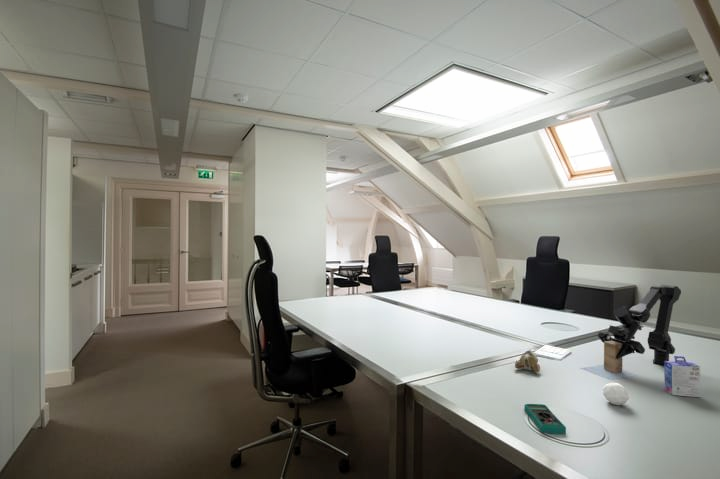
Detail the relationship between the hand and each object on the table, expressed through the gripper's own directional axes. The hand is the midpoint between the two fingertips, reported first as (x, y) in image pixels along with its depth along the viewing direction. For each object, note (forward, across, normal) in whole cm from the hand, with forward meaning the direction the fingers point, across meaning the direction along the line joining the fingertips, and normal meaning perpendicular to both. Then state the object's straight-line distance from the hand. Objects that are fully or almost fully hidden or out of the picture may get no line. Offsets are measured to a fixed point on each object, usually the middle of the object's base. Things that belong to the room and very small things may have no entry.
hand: (611, 356), depth 162 cm
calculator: (+9, -28, +2) cm, 30 cm away
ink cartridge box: (+2, +25, +8) cm, 27 cm away
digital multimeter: (+52, +25, -42) cm, 71 cm away
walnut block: (+4, 0, +6) cm, 7 cm away
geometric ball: (+26, +23, -16) cm, 39 cm away
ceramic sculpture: (+30, -14, -19) cm, 38 cm away
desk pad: (+6, 0, +4) cm, 7 cm away
